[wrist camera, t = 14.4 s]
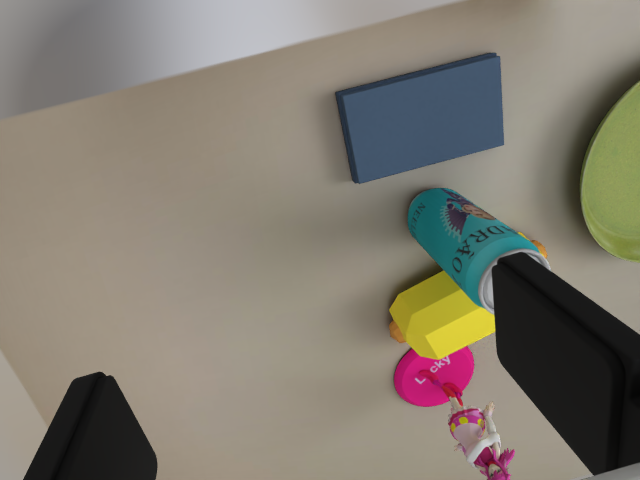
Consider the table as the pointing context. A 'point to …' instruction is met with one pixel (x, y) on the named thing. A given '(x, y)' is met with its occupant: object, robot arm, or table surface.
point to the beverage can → (465, 241)
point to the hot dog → (440, 316)
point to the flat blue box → (422, 117)
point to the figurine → (454, 406)
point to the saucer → (614, 179)
